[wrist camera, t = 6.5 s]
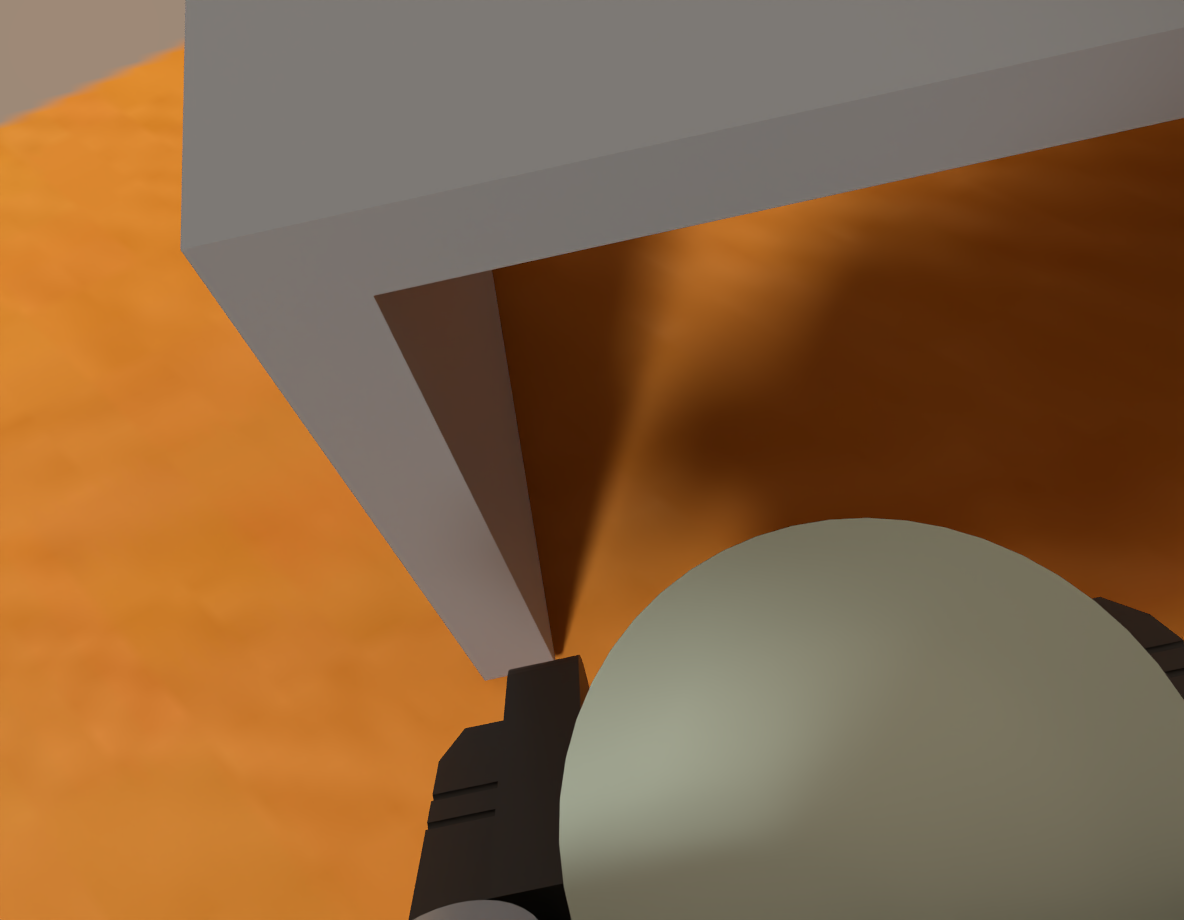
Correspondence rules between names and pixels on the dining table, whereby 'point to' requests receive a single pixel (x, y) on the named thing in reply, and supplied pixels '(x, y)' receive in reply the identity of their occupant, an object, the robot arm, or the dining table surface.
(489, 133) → the slotted rack
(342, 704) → the dining table surface
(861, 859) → the wine glass
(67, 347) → the dining table surface
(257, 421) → the dining table surface
